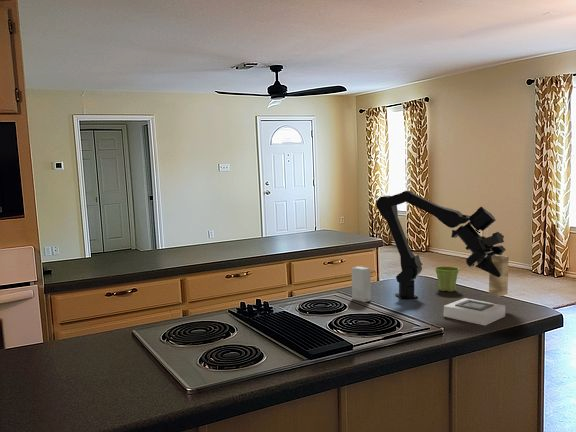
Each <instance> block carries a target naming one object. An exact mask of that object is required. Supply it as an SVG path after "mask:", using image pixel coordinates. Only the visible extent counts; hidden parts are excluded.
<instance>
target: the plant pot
mask: <svg viewBox="0 0 576 432" xmlns="http://www.w3.org/2000/svg"><path fill="white" fill-rule="evenodd" d="M434 270H435V273H436V275H437V276H436V277H437V284H438V290H439V291H442V292H446V291H447V292H455V290H456V286H457V279H458V274H459V271H460V268H459V267H456V266H445V265H444V266H443V265H442V266H435V267H434Z"/></svg>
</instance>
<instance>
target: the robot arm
mask: <svg viewBox="0 0 576 432" xmlns="http://www.w3.org/2000/svg"><path fill="white" fill-rule="evenodd" d="M404 203H408V204H410V205H412V206H414V207H416V208H418V209H420V210H422V211H424V212H425V213H427V214H430V215H432V216H434V217H435V218H437V220H438V221H439V222H441V223H442V224H443V225H445V226H446V227H448V228H451V229H452V230H451V235H450V237H451V238H453V239H456V238H460V240H461V242H463V243H464V245H465V246H466V247H465V249H466V250H467V251H470V252H471V254H470V255H469V256H468V257H466V259H465V263H466V265H467V266H468V267H469V268H472V267H474V266H475V269H476V268H478V269H480V270H482V271H485V272H486V273H488V274H489V273H490V274H492V275H494V276H496V277H500V276H501V275H500V273H499V271H498V270H497V269H496V267H495V266H494V264H493V263H492V255H503V253H504V252H506V251H507V250H506V248H505V247H504V246H503V245H499V244H502V243H505V241H504V238H505V235H503V234H502V233H500V232H499V231H495V232H494V233H492V235H491V236H488V237H486V236H484V235H480V234H479V233H478V232H479V231H482V232H484V231H485V230H486V229H487V228H489V227H490V226H491V225H492V224H493V223H495V222H496V220H497V218H495V216H494V215H493V214H492V213H491V212H489V211H488V210H487V209H486V208H485V207H483V206H480V207H478V209H476V211H475V212H474V213H473V214H470V215H467V214H463V213H462V212H461V211H459V210H457V209H454V208H449V207H444V206H441V205H439V204H438V203H436V202H432V201H431V200H428V199H426V198H424V197H422V196H421V195H418V194H416V193H414V192H413V191H411V190H404V191H402V192H400V193H397V194H394V195H384V196H380V197H379V198H377V200H376V203H375V207H376V208H377V210H378V212H379V214H380V215H381V216H382V218H383V219H384V220H385V221H386V224H387V226H388V229H389V230H390V233H391V236H392V238H393V240H394V243H395V246H396V248H397V251H398V254H399V260H400V268H401V272H400V273H398V274H397V275H396V276H395V279H396V282H397V283H398V293H395V294H394V295H395V296H396V297H398V298H399V299H402V300H406V299H407V300H409V299H418V298H419V295H418V296H417V295H416V294H415V280H416V279H417V276H418V275H420V274H421V273H422V271H423V268H422V267H423V265H424V264H423V263H422V262H421V258H420V255H419V254H416V255H415V254H414V253H413V252H412V249H411V247H410V245H409V243H408V239H407V237H406V234H405V232H404V230H403V226H402V225H401V222H400V219H399V215H398V206H399V205H401V204H404ZM463 224H464V225H463ZM454 228H457V229H454ZM477 231H478V232H477ZM495 245H496V246H495ZM475 263H477V264H476V265H475Z"/></svg>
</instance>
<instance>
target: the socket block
mask: <svg viewBox="0 0 576 432" xmlns="http://www.w3.org/2000/svg"><path fill="white" fill-rule="evenodd" d="M443 317H445V318H449V319H454V320H458V321H463V322H467V323H471V324H477V325H481V326H488V325H489V324H492V323H494V322H495V321H498V320H500V319H503V318H505V317H506V305H504V304H497V303H493V302H489V301H488V302H487V301H484V300H476V299H471V298H466V297H465V298H461V299H458V300H456V301H454V302H451V303H447V304H445V305H443Z"/></svg>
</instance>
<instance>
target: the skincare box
mask: <svg viewBox="0 0 576 432" xmlns="http://www.w3.org/2000/svg"><path fill="white" fill-rule="evenodd" d="M350 271H351V299H352V300H354V301H357V302H358V301H359V302H363V303H366V302H370V301H372V285H371V284H372V282H371V281H372V279H371V268H370V267H366V266H360V265H357V266H353V267H351V269H350Z"/></svg>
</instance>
